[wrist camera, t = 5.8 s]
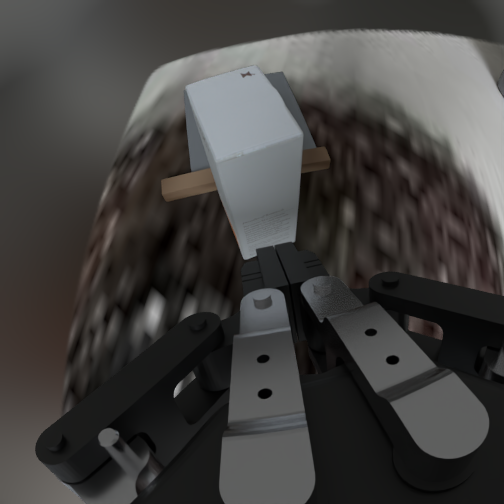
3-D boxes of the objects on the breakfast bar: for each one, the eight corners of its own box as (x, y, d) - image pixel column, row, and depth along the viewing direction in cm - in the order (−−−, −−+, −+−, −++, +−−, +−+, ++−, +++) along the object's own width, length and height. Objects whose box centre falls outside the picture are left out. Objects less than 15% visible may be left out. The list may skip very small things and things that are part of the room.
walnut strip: (323, 155, 27) (325, 146, 26) (328, 168, 26) (330, 159, 25) (165, 187, 27) (161, 179, 26) (166, 202, 26) (162, 194, 25)
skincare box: (218, 198, 26) (182, 83, 15) (268, 181, 26) (258, 61, 15) (243, 264, 24) (212, 162, 13) (297, 244, 24) (309, 131, 13)
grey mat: (282, 74, 32) (282, 71, 31) (316, 151, 27) (316, 148, 27) (184, 93, 32) (183, 90, 31) (192, 176, 27) (191, 173, 27)
